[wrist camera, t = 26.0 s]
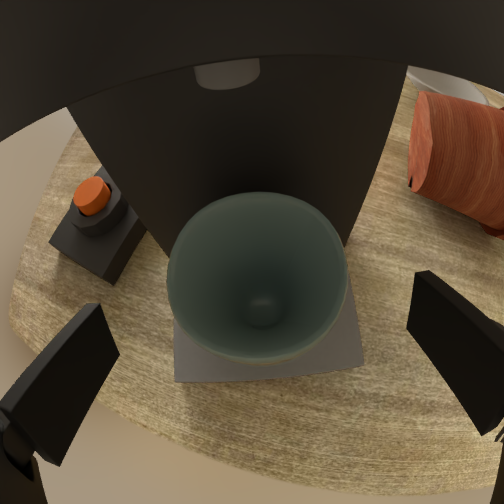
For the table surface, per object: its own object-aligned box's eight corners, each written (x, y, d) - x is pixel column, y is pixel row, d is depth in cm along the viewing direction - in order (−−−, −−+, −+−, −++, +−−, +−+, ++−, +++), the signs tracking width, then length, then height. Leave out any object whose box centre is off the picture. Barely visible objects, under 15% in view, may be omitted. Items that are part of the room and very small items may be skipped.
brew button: (76, 211, 24) (67, 201, 23) (95, 183, 25) (88, 173, 24) (96, 220, 23) (87, 210, 22) (117, 190, 25) (109, 179, 23)
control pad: (59, 251, 26) (38, 234, 23) (114, 171, 31) (100, 149, 27) (113, 286, 24) (91, 269, 20) (175, 187, 29) (163, 162, 25)
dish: (463, 95, 36) (470, 77, 32) (491, 142, 30) (502, 121, 25) (386, 71, 39) (390, 49, 34) (404, 113, 32) (412, 86, 28)
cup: (315, 270, 22) (340, 189, 13) (317, 371, 18) (357, 361, 9) (216, 270, 22) (179, 191, 13) (208, 369, 19) (152, 354, 10)
